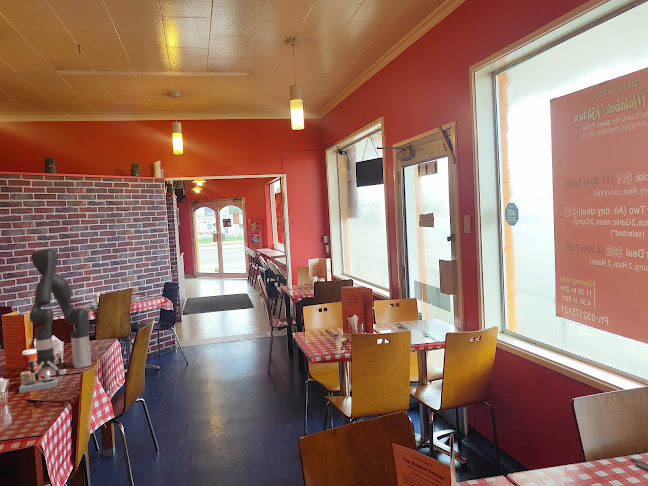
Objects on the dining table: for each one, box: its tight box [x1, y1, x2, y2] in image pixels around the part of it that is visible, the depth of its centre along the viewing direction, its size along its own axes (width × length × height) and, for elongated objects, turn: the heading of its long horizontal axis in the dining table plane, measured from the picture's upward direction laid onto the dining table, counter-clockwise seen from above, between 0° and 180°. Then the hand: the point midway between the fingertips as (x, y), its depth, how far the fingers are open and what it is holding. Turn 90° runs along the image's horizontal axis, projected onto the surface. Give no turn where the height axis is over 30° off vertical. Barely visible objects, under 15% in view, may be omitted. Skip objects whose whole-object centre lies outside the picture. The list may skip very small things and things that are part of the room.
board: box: [18, 376, 59, 394], centre depth 249 cm, size 16×10×2 cm, turn 115°
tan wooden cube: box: [20, 371, 36, 385], centre depth 255 cm, size 6×6×6 cm
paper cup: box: [21, 348, 39, 372], centre depth 271 cm, size 8×8×14 cm
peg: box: [43, 368, 52, 382], centre depth 250 cm, size 3×3×8 cm
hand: (47, 378), depth 250 cm, fingers open, 8 cm apart
